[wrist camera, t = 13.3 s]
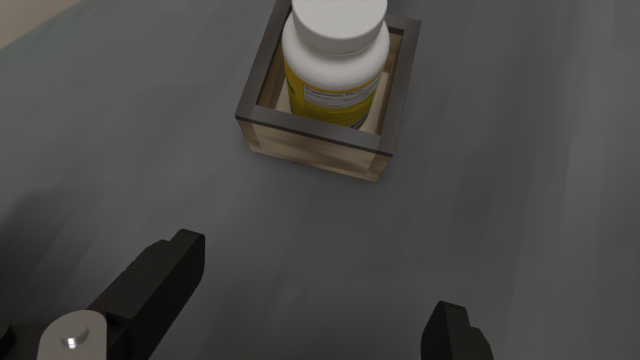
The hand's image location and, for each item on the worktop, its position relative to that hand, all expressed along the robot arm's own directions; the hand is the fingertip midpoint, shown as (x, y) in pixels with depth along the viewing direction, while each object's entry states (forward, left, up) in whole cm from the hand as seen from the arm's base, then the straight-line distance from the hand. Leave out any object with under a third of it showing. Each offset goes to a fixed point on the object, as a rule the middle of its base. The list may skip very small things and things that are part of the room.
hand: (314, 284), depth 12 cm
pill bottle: (+2, -13, -13) cm, 18 cm away
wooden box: (+2, -13, -13) cm, 19 cm away
